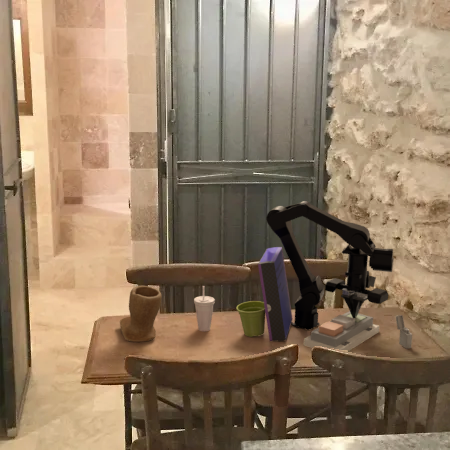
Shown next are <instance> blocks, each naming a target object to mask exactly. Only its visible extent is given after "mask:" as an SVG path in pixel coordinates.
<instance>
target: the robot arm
mask: <svg viewBox="0 0 450 450" xmlns="http://www.w3.org/2000/svg"><path fill="white" fill-rule="evenodd" d="M302 217H303V218H305V219H307V220H309V221H311V222H313V223H315V224H317V225H319V226H320V227H323V228H325V229H326V230H329V231H331V232H332V233H334V234H337V236H339V238H341V239H342V240H343V241H344V242H345V243H347V246H346V247H344V248H343V249H342V251H341V254H343V255H348V257H347V259H348V260H347V270H346V271H345V272H344V276H346V281H345V280H343V279H340V278H336V277H335V278H331V279H329V280H328V281H326V282H325V284H324V283H323V282H322V279H321V276H320V275H317V276H316V275H314V274H313V273H312V272H311V270H310V267H309V265H308V263H307V261H306V258H305V256H304V254H303V251H302V249H301V247H300V245H299V243H298V240H297V238H296V236H295V234H294V230H293V224H292V221H293V220H295V219H299V218H302ZM265 220H266V224H267V225H268V227H270V229H271V231H272V232H273V233H274V234H275V235H276V236H277V237H278V238H279V240H280V242H281V243H282V246H283V248H284V249H283V250H285V253H286V255H287V256H288V257H287V258H288V259H289V262H290V263H291V266H292V268H293V270H294V272H295V276H296V277H297V279H298V286H299V291H300V295H299V296H298V298H297V300H295V303H293V304H294V322H291V326H293V327H295V328H300V329H302V330H306V331H310V330H312V329H314V328H316V327H319V326H320V322H319V312H318V307H317V305H318V304H320V301H321V300H322V298H323V296H324V293H325V292H329V293H335V292H336V291H337V290H339V291H341V292H342V294H341V295H340V297H341V298H343V300H344V302H345V304H346V306H347V307H348V310H349V311H350V313H351V315H352V317H353V318H356V317H357V315H358V313H359V312H360V310H361V308H362V306H363V304H364V302H365V301H368V302H369V303H372V304H377V305H380V304H382V303H385V302H386V301H388V300H389V293H388V291H387V290H386V289H382V288H377V287H375V284H376V278H377V277H376V276H372V275H370V271H369V270H368V267H370V269H372V271H379V272H385V273H386V272H387V273H393V269H394V249H393V248H379V247H377V246H376V244H375V243H374V241H373V240H372V238H371V233H370V230H369V229H368V228H367V227H366V226H364V225H360V224H357V223H354V222H348V221H345V220H342V219H341V218H339V217H336V216H334V215H332V214H331V213H329V212H326V211H324V210H323V209H321V208H318V207H317V206H315V205H313V204H311V203H310V202H308V201H307V200H303V201H301V202H298V203H295V204H290V205H287V206H284V205H277V206H275V207H273V208H272V209H270V210H269V211H268V213H267V215H266V218H265ZM368 258H369V260H368ZM371 287H373V288H374V289H372V290H369V288H371Z"/></svg>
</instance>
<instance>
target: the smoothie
mask: <svg viewBox="0 0 450 450" xmlns="http://www.w3.org/2000/svg"><path fill="white" fill-rule="evenodd" d="M193 303H194V306H195V307H194V308H195V314H196V321H197V323H196V324H197V329H198V331H200V332H208V331H210V330H211V325H212V319H213V312H214V304H215V303H216V299H215V298H214V297H212V296H208V295H206V294H205V285H202V295H200V296H196V297H194V299H193Z"/></svg>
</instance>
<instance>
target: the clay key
mask: <svg viewBox="0 0 450 450" xmlns="http://www.w3.org/2000/svg"><path fill="white" fill-rule="evenodd" d="M318 328H319V332H320V333H323V334H327V335H330V336H333V337H335V336H337V335H338V334H340V333H342V332H343V325H340V324H337V323H333V322H330V321H329V320H328V321H326V322H324V323H321V325H320V324H319V325H318Z"/></svg>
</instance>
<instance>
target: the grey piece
mask: <svg viewBox="0 0 450 450" xmlns="http://www.w3.org/2000/svg"><path fill="white" fill-rule="evenodd" d="M349 314H351V313H350V310H349V311H347V312H345V313H343V314H342V315H343V316H347V315H349ZM358 315H360V316H364V317H366V319H364V320H362V321H361V322H359V323H357V322H355V325H354V326H352V327H350V328H349V329H347V330H346V329H343V332H342V333H340V334H338V335H337V336H335V337H333V336H330V335H327V334H323V333H320V332H319V327H317V328H316V329H313V330H312V331H310V335H308V336H307V337H305V338H303V346H305V347H308V348H311V349H313V348H312V347H314V346H322V347H327V348H334V349H339V350H349V351H351V350H352V348H353V349H354V348H356V347H358V346H359V345H361V344H362V343H363V342H366V341H367V340H369V339H370V338H372V337H373V336H375V335H376V334H378V333H379V332H380V325H378V324H374V317H373V316H370V315H365V314H363V313H359V312H358ZM329 322H332V320H330V321H329ZM349 351H348V352H349Z"/></svg>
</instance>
